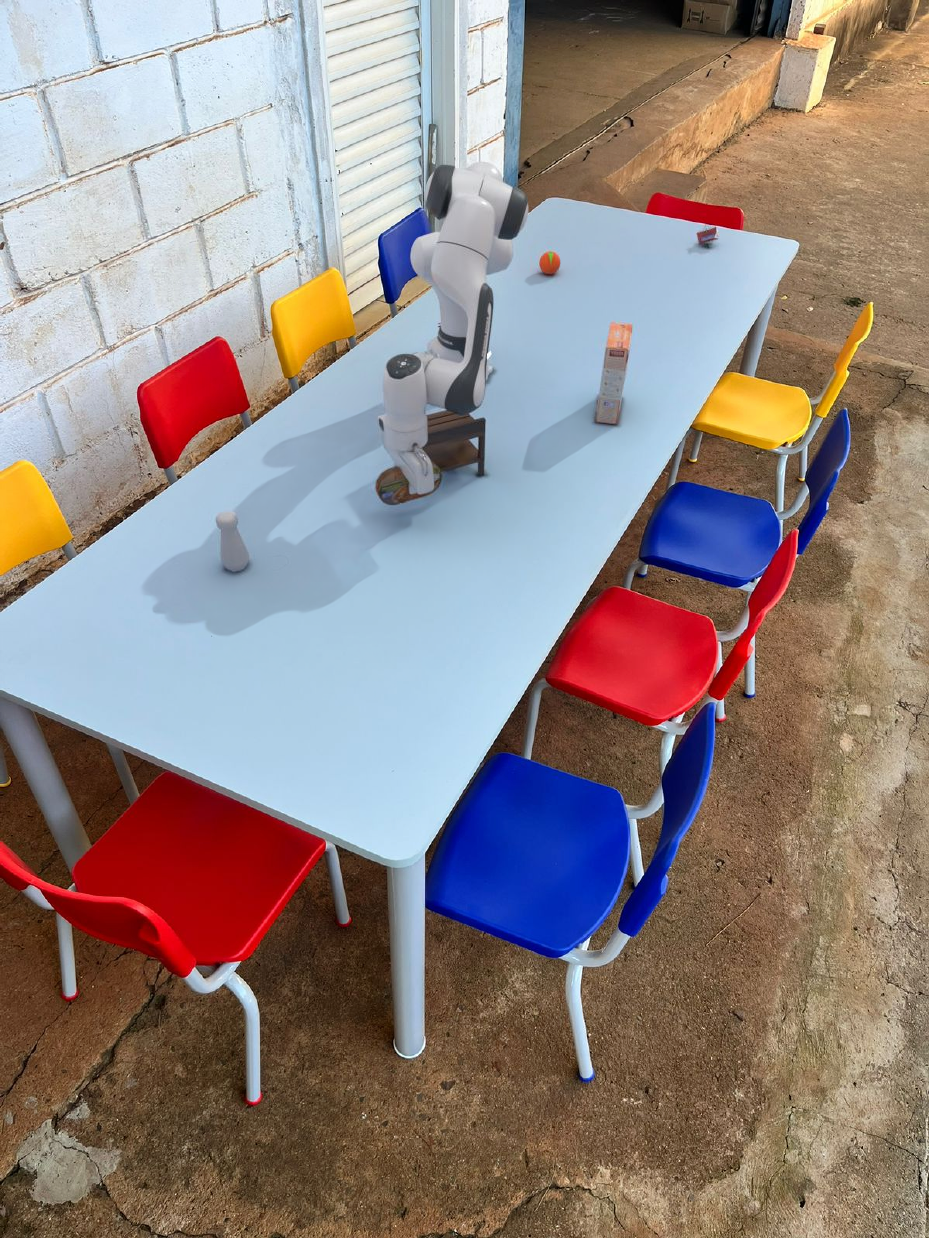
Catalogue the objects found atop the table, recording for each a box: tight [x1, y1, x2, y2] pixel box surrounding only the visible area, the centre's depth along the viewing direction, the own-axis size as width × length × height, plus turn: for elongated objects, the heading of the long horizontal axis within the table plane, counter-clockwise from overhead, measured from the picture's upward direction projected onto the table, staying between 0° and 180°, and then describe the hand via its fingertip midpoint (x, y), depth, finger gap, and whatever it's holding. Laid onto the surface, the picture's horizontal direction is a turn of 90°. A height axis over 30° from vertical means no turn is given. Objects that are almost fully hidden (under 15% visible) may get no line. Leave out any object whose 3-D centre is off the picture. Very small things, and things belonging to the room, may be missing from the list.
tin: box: [374, 461, 443, 506], centre depth 194 cm, size 15×3×8 cm, turn 116°
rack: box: [422, 409, 487, 477], centre depth 206 cm, size 12×17×15 cm
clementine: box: [538, 251, 561, 275], centre depth 291 cm, size 8×7×7 cm
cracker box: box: [595, 321, 633, 426], centre depth 225 cm, size 14×6×21 cm, turn 168°
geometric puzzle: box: [696, 223, 720, 248], centre depth 310 cm, size 7×7×8 cm
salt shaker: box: [215, 510, 250, 573], centre depth 181 cm, size 6×6×13 cm
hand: (408, 487), depth 195 cm, fingers closed on tin, 2 cm apart
